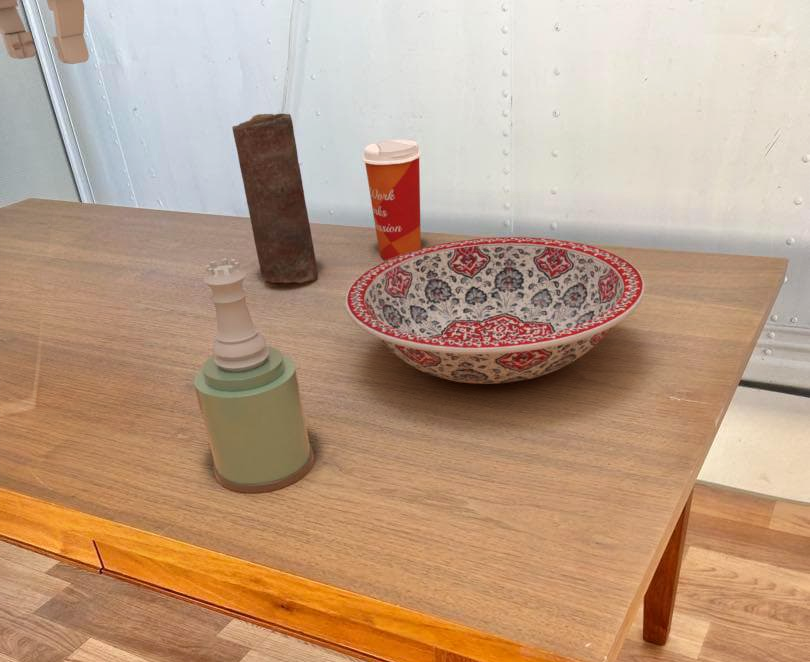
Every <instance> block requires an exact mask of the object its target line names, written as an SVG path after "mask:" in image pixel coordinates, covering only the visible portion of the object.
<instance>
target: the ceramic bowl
mask: <svg viewBox="0 0 810 662" xmlns="http://www.w3.org/2000/svg"><path fill="white" fill-rule="evenodd" d="M645 292H646V285H645V281H644V277H643V276H642V273H641V272H640V271H639V269H638V268H636V266H635V265H633V264H632V263H631V262H629V261H628V260H626V259H625V258H623V257H621V256H619V255H618V254H615V253H613V252H610V251H608V250H605V249H603V248H602V249H601V248H599V247H595V246H592V245H588V244H583V243H579V242H574V241H570V240H569V241H568V240H561V239H556V238H555V239H553V238H544V237H526V236H525V237H522V236H502V237H500V236H499V237H484V238H483V237H482V238H472V239H464V240H457V241H450V242H445V243H440V244H434V245H430V246H426V247H421V249H418V250H415V251H411V252H408V253H405V254H402V255H399V256H396V257H394V258H391V259H389V260H387V261H386V260H383V261H382V262H380V263H378V264H376V265H374V266H372V267H371V268H369V269H368V270H366V271H365V272H363V273H362V274H361V275H360V276H358V277H357V278H356V279H355V280H354V281H353V283H351V285H350V286H349V288H348V290H347V291H346V295H345V301H344V303H345V304H344V305H345V310H346V312H347V315H348V316H349V318H350V320H351V321H352V323H353V324H355V326H357V327H358V328H359V329H361V330H362V331H363V332H365V333H367V334H369V335H370V336H372V337H374V338H376V339H378V340H379V341H380V343H381V344H382V345H383V346H384V347H385V348H386V349H387V350H388V351H389V352H390V353H392V354H393V355H394V356H395V357H397V358H398V359H400V360H401V361H403V362H404V363H405V364H407V365H409V366H411V367H413V368H414V369H416V370H418V371H420V372H423V373H424V374H425V373H426V374H427V375H430V376H433V377H437V378H439V379H444V380H447V381H453V382H457V383H465V384H466V383H467V384H479V385H480V384H481V385H483V384H484V385H489V384H491V385H492V384H493V385H494V384H505V383H507V384H508V383H513V382H521V381H526V380H530V379H536V378H538V377H542V376H544V375H547V374H551V373H553V372H555V371H557V370H560V369H562V368H564V367H566V366H568V365H570V364H572V363H573V362H575V361H576V360H578V359H579V358H581V357H582V356H584V355H586V354H587V353H588V352H589V351H590V350H592V349H593V348H594V347H595V346H596V345H598V343H599V342H600V341H601V340H602V339H603V338H604V337H605V336H606V335H607V334H608V333H609V332H610V330H611V329H612V328H613V327H615V326H616V325H618V324H620V323H621V322H623V321H624V320H626V319H627V318H629V317H630V316H631V315H632V314H633V313H634V312H635V311H636V310H637V309H638V308H639V306H640V305H641V302H642V301H643V299H644V297H645Z"/></svg>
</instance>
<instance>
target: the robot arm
mask: <svg viewBox="0 0 810 662" xmlns="http://www.w3.org/2000/svg"><path fill="white" fill-rule="evenodd" d="M46 4H47V7H48V9H49V11H52V12H53V19H54V26H55V33H56V36H53V37H52V40H53V44H54V47H55V49H56V51H57V57H58V59H59V61H60V62H61V63H64V64H69V65H75V64H81V63H86V62H87V61H88V60H89V58H90V57H89V56H90V55H89V50H88V47H87V42H86V40H85V39H86V38H85V35H84V34H85V4H84V0H46ZM18 6H19V5H18V1H17V0H0V35H1V36H2V39H3V42H4V45H5V48H6V51H7V54H8V56H9V57H10V58H12V59H17V60H19V59H20V60H22V59H27V58H32V57H35V55H36V52H37V50H36V46H35V45H34V41H33V37H32V34H31V31H28V30H26V28H25V25H24V23H23V21H22V19H21V16H20V14H19V12H18V9H17V7H18Z"/></svg>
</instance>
